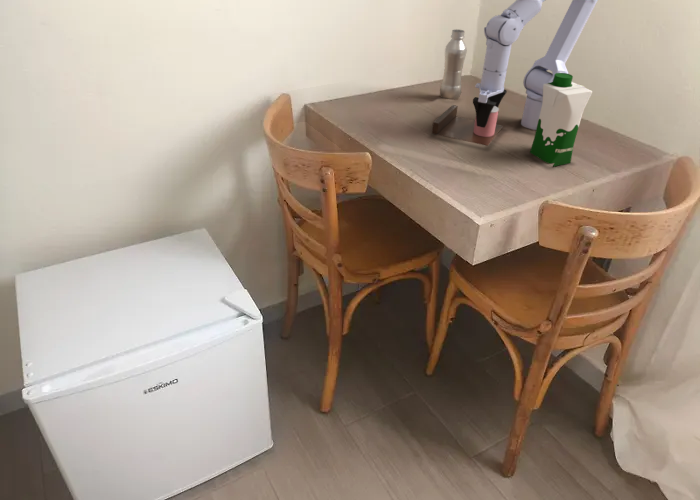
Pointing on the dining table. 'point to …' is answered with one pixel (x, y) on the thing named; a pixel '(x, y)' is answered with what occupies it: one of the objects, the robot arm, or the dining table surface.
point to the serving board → (460, 127)
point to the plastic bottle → (453, 66)
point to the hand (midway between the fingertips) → (485, 121)
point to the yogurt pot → (487, 125)
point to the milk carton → (559, 119)
